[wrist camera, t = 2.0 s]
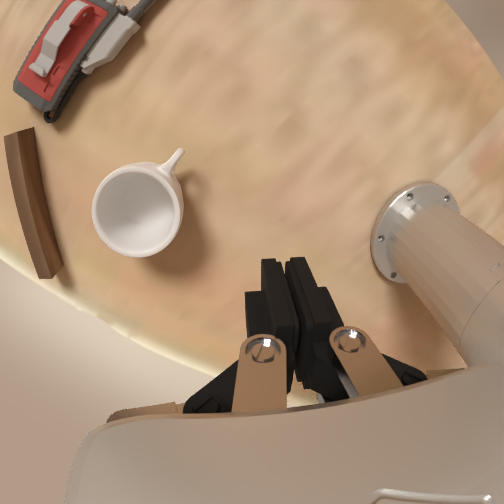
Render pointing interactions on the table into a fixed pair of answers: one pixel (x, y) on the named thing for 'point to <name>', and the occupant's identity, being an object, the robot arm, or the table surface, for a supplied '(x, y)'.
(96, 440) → the robot arm
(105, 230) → the teacup
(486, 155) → the table surface
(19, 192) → the stop bar
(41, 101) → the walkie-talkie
